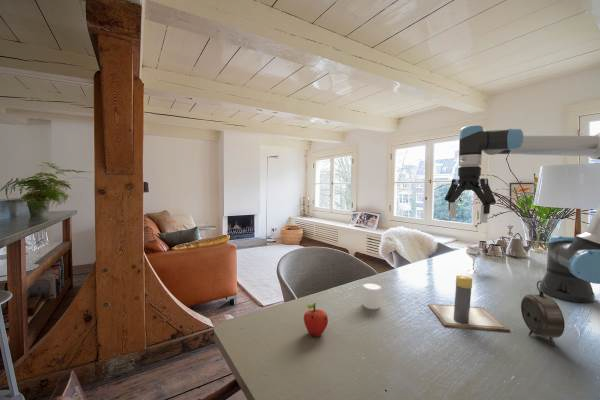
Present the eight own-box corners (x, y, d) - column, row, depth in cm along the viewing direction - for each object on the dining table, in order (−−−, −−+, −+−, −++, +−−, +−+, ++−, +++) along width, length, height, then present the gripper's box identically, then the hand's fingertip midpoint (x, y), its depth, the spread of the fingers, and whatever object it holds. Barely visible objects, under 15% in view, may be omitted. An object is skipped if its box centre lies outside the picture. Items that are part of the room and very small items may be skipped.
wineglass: (484, 274, 126) (486, 249, 125) (470, 274, 126) (471, 249, 126) (475, 269, 133) (476, 246, 132) (462, 269, 133) (463, 246, 132)
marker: (465, 317, 83) (468, 276, 82) (471, 324, 79) (475, 281, 78) (450, 316, 83) (453, 274, 82) (456, 323, 79) (459, 279, 78)
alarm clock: (564, 350, 68) (569, 289, 67) (540, 347, 69) (544, 287, 68) (536, 328, 78) (539, 274, 78) (515, 326, 80) (518, 273, 79)
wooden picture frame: (483, 309, 90) (483, 307, 90) (510, 331, 76) (510, 329, 76) (428, 305, 93) (428, 303, 93) (444, 326, 79) (444, 324, 79)
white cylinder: (382, 303, 94) (383, 284, 94) (379, 311, 88) (380, 291, 87) (363, 299, 97) (363, 281, 97) (359, 307, 91) (359, 287, 90)
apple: (303, 327, 78) (304, 294, 77) (326, 327, 78) (327, 294, 77) (303, 342, 70) (303, 306, 70) (328, 343, 70) (329, 306, 70)
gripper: (436, 168, 114) (434, 216, 115) (494, 163, 90) (491, 225, 91) (450, 168, 116) (448, 216, 117) (510, 164, 92) (506, 224, 94)
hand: (467, 220), depth 104 cm, fingers open, 13 cm apart
